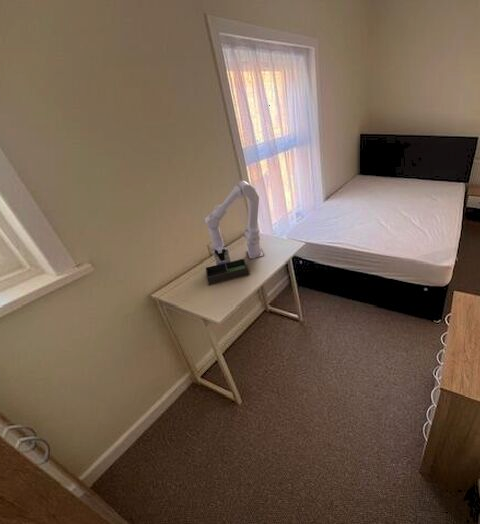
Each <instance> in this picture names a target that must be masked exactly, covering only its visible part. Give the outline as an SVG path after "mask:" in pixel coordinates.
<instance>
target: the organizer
mask: <svg viewBox="0 0 480 524" xmlns="http://www.w3.org/2000/svg"><path fill="white" fill-rule="evenodd" d="M205 275H206V280H207V282H208V286H211V285H216V284H218V283H219V284H220V283H222V282H226V281H230V280H234V279H238V278H242V277H246V276H249V275H250V273H249V269H248V265H247V263H246V259H245V258H240V259H237V260H232V261H231V262H228V263H223V264H219V265H216V264H215V265H211V266H207V267H205Z"/></svg>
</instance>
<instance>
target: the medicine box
mask: <svg viewBox="0 0 480 524" xmlns="http://www.w3.org/2000/svg"><path fill="white" fill-rule="evenodd" d="M222 249H225V260H223V261H221V260H220V259H219V257H218V255H217V254H215V252H214V251H215V250H216V249H215V248H214V249H212V256H213V258H214V261H215V265H219V264H223V263H228V262H232V261H231V257H230V254H229V250H228V247H227V246H224V247H223V248H222Z"/></svg>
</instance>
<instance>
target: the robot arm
mask: <svg viewBox="0 0 480 524" xmlns="http://www.w3.org/2000/svg"><path fill="white" fill-rule="evenodd" d="M244 196H245V197H247V199H248V209H247V210H248V212H247V225H246V227H245V230H244V232H243V236H244V238H246V245H247V255H248V258H249V259H251V260H252V259H255V258H259V257H263V256H264V253H263V251H262V249H261V245H260V244H261V243H260V240H261V239H260V238H261V237H260V236H259V229H258V217H259V203H260V196H259V195H258V192H257V191H256V188H255V187H254V186H252V185H251V184H249V183H248V182H247V181H245V180H239V181H238V182H237V184H236V185H234V187H233V189H232V190H231V192H230V193H229V194H228V195H227V197H226V198H225V199H224V201H223V202H222V204H218V205H215V207H214V210H212V212H211V213H209V215H208V216H206V217H205V218H204V223H205V224H206V226H207V230H208V234H209V237H210V241H211V244H210V248H214V249H216V250H215V251H214V252H215V254H217V255H218V257H219V259H220V260H221V261H223V260H225V249H222V248H223V247H225V242H224V240H223V236H222V233H221V229H220V222H221V221H222V220H223V218H224V217H225V216H226V215H227V213H228V211H229V208H230V206H232V205H233V204H234V202H235V201H236V200H237V199H240V198H241V199H242V198H245V197H244Z"/></svg>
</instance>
